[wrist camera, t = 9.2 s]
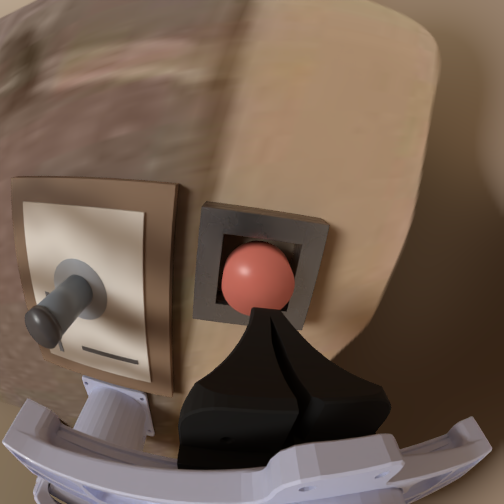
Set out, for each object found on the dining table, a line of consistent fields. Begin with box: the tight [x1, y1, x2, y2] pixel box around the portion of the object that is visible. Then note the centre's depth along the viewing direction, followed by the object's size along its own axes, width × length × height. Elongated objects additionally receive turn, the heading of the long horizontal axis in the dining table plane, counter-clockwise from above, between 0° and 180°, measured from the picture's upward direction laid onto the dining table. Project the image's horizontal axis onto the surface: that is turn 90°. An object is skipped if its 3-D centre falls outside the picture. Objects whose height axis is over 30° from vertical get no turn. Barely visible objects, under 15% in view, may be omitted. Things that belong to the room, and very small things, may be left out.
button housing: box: [193, 201, 330, 330], centre depth 19 cm, size 8×8×2 cm
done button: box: [222, 241, 295, 316], centre depth 17 cm, size 4×4×2 cm
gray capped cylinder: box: [25, 275, 93, 349], centre depth 16 cm, size 3×3×6 cm
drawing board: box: [11, 176, 179, 397], centre depth 20 cm, size 20×16×1 cm
